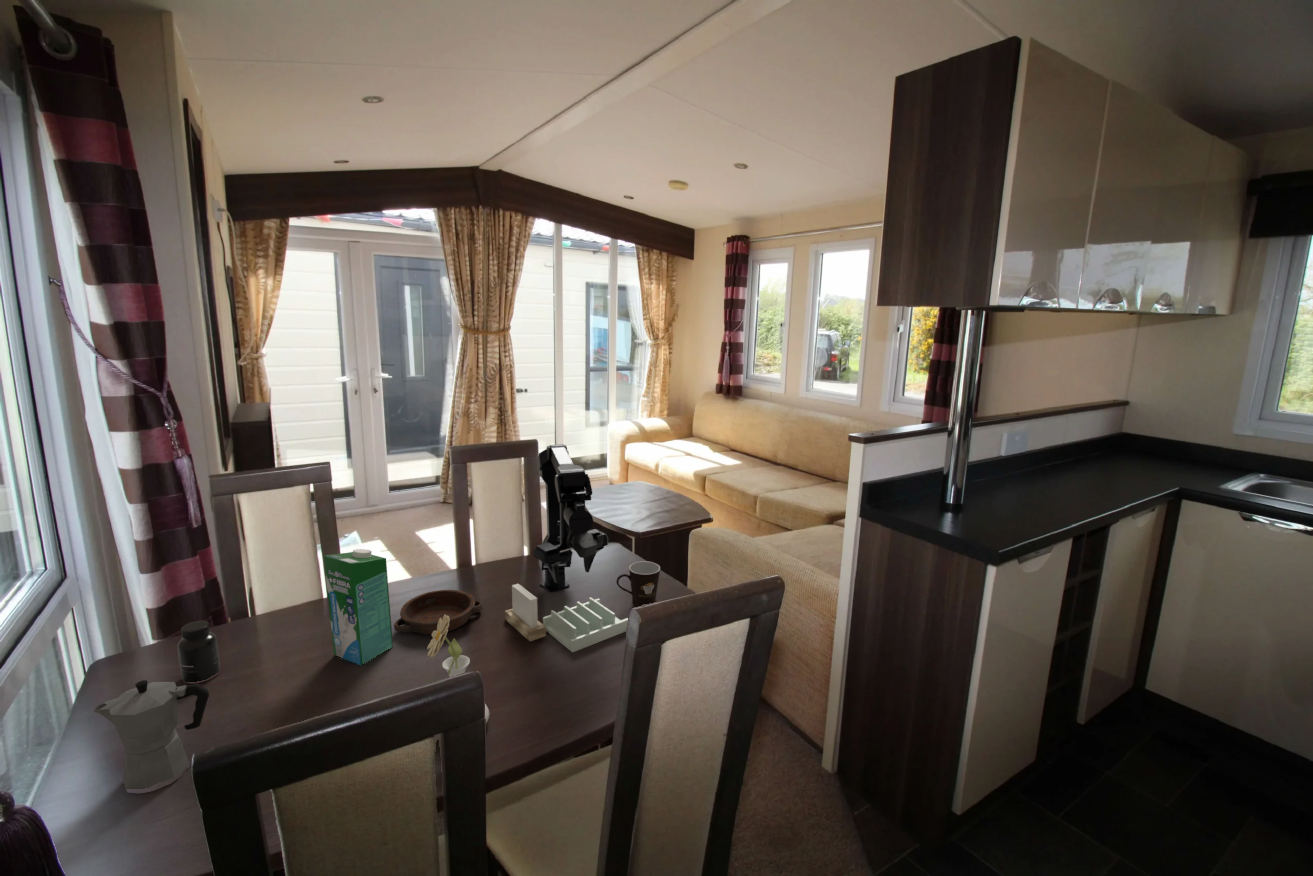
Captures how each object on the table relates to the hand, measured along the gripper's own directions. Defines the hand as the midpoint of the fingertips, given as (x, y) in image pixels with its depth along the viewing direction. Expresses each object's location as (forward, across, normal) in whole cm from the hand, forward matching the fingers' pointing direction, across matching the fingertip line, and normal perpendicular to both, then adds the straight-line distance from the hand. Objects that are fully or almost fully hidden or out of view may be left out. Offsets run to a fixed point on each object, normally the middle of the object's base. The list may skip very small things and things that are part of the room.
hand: (572, 577), depth 153 cm
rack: (+14, +2, -4) cm, 14 cm away
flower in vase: (+13, -39, -18) cm, 45 cm away
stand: (+14, -10, +7) cm, 18 cm away
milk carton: (+14, -44, +21) cm, 51 cm away
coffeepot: (+13, -82, +3) cm, 83 cm away
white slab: (+14, -10, +7) cm, 18 cm away
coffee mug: (+14, +22, 0) cm, 26 cm away
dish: (+14, -25, +23) cm, 37 cm away
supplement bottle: (+14, -74, +33) cm, 82 cm away
